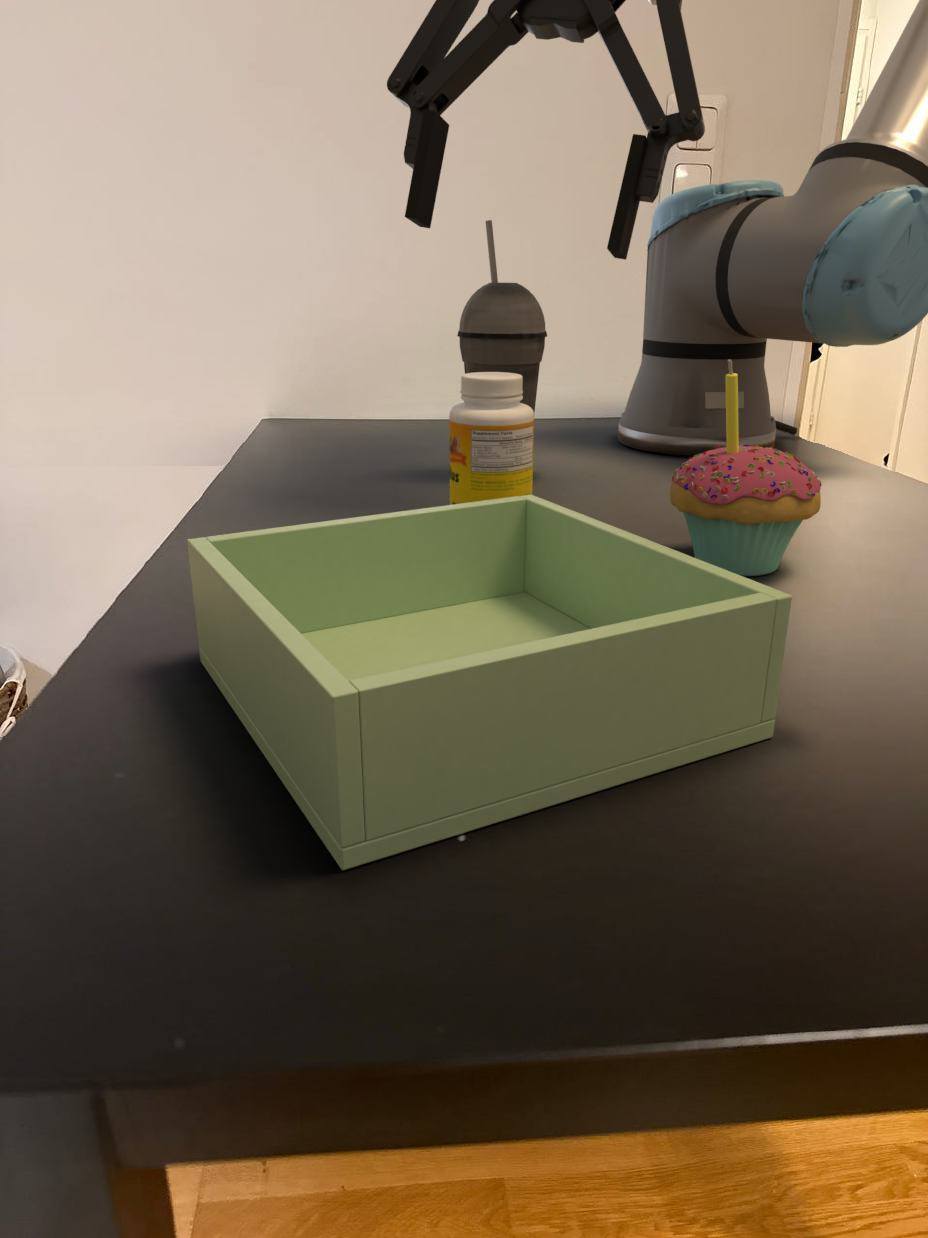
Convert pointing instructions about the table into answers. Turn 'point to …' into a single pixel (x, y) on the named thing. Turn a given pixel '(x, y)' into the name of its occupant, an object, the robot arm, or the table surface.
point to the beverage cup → (503, 330)
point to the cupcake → (743, 499)
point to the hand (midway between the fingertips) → (513, 238)
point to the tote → (477, 663)
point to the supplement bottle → (490, 439)
